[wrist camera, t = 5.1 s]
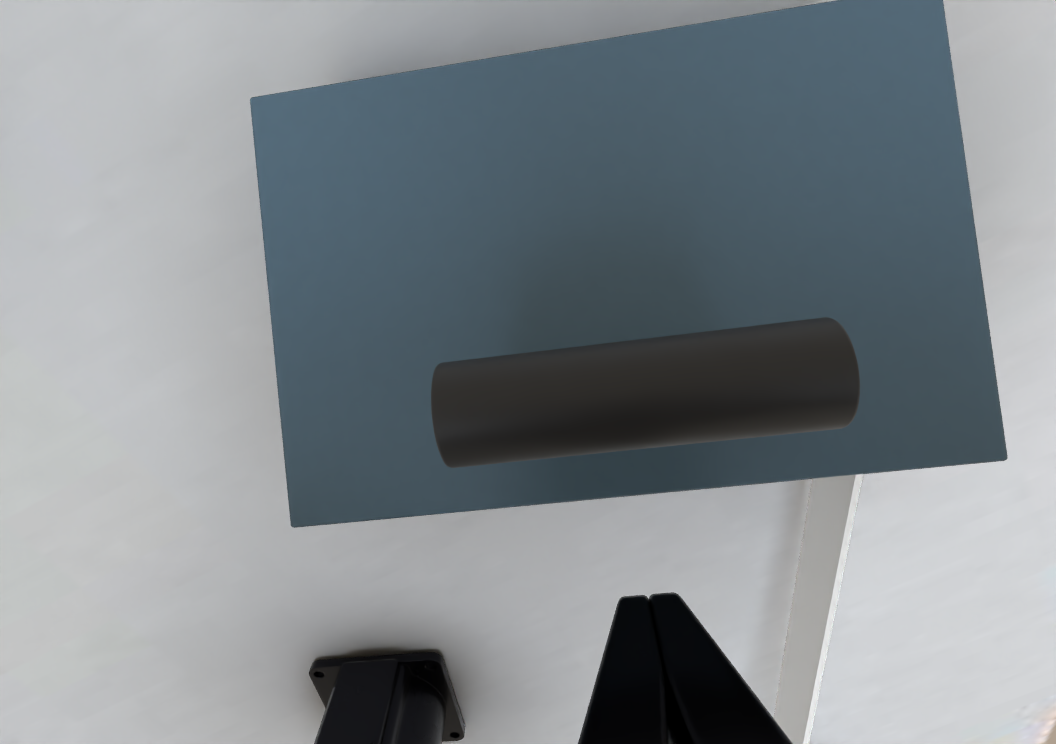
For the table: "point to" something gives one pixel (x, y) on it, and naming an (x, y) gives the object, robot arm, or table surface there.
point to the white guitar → (815, 601)
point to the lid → (628, 268)
